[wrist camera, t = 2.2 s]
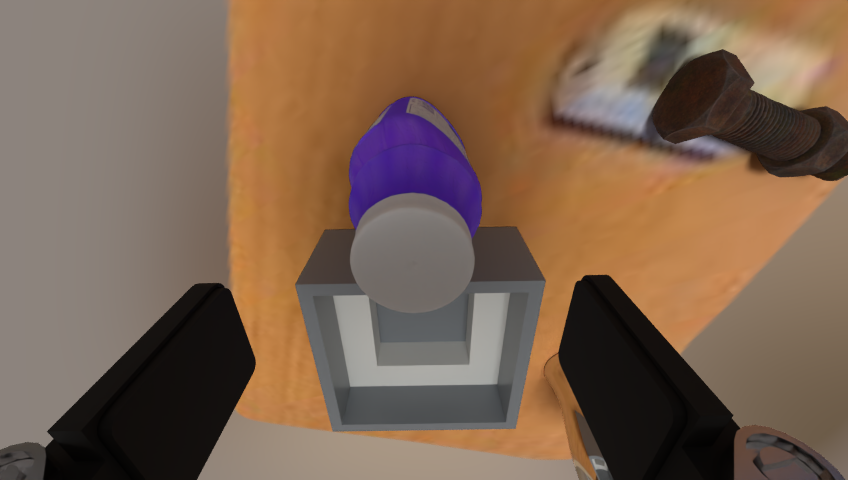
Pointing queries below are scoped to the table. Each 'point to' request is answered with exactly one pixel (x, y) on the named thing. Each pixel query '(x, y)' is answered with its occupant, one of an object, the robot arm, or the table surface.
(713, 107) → the bolt
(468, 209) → the bottle
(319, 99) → the table surface
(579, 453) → the beer glass
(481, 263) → the bore box
